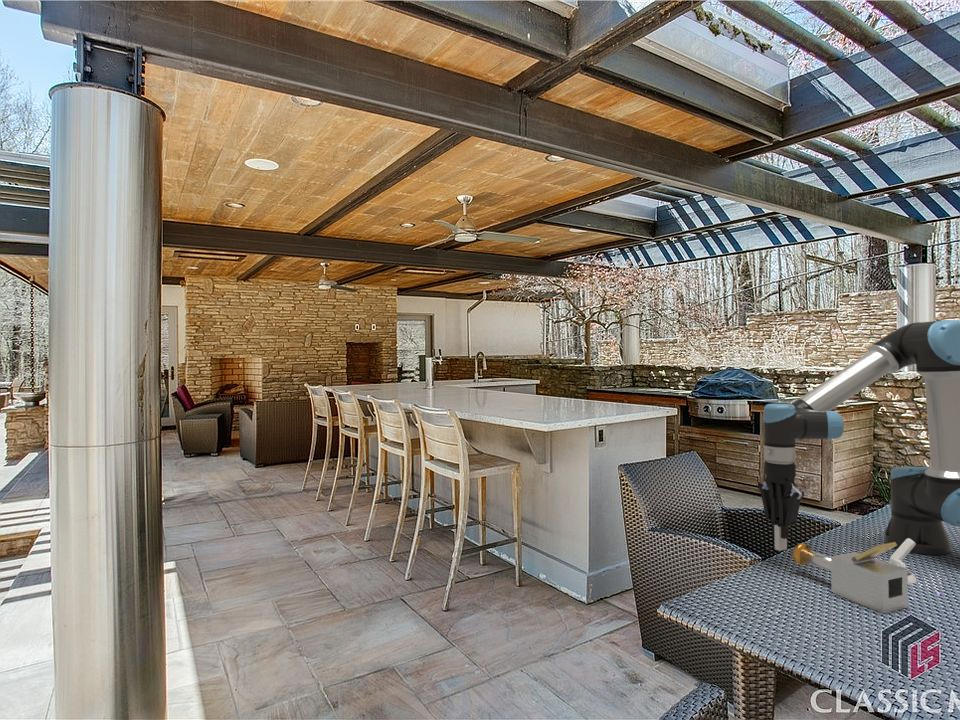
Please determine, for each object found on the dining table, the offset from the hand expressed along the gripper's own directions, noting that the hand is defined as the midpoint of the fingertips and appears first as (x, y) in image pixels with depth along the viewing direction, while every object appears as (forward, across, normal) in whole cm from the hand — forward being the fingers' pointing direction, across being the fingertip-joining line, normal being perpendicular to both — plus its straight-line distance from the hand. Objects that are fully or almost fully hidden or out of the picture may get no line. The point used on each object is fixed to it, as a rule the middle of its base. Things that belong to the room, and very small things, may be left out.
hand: (780, 549), depth 151 cm
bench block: (+4, +24, 0) cm, 24 cm away
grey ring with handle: (+4, +18, +19) cm, 26 cm away
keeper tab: (-7, +25, 0) cm, 26 cm away
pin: (+2, +12, 0) cm, 12 cm away
